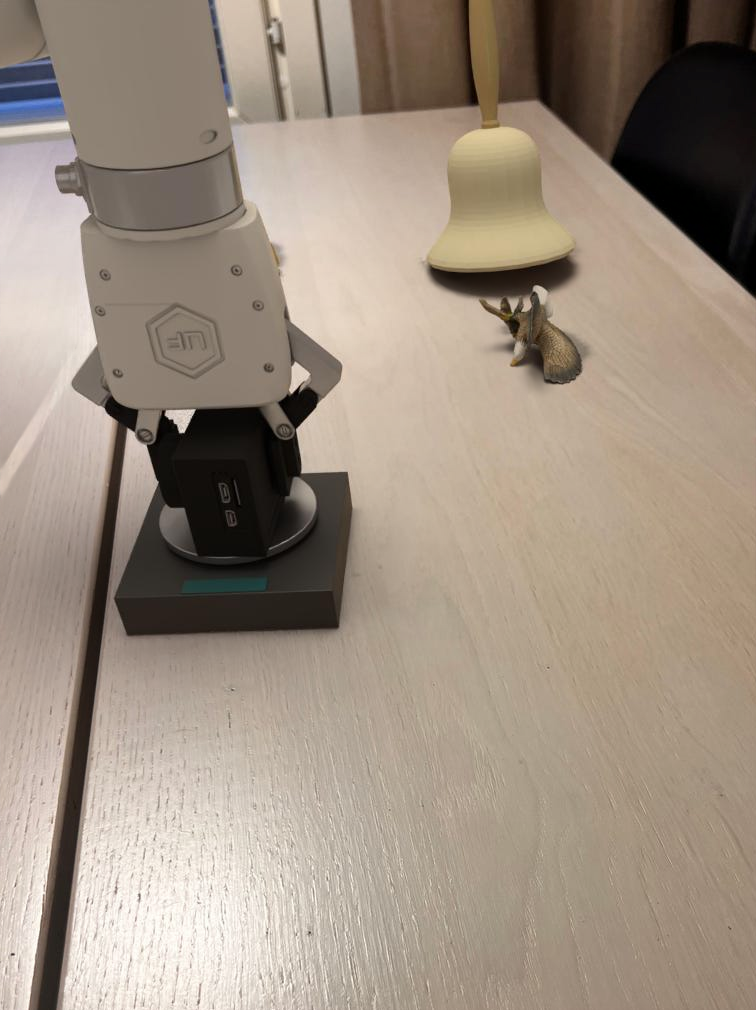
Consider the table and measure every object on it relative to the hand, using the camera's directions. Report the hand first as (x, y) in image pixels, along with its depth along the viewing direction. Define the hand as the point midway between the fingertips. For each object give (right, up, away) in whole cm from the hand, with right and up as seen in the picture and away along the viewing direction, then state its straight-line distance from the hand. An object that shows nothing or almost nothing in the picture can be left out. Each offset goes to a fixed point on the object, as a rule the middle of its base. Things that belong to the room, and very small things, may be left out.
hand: (232, 484), depth 62 cm
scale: (0, -5, +3) cm, 6 cm away
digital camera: (0, -2, +1) cm, 2 cm away
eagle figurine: (+20, +14, +24) cm, 35 cm away
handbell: (+18, +28, +40) cm, 52 cm away
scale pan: (0, -3, +1) cm, 3 cm away
